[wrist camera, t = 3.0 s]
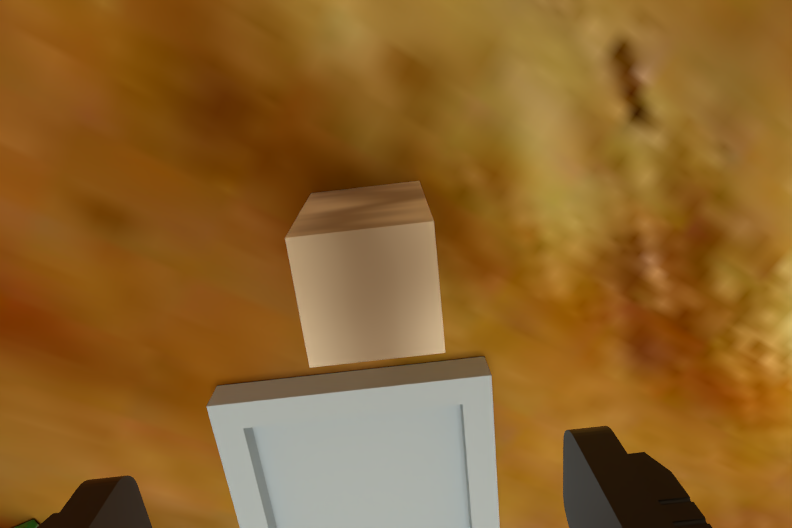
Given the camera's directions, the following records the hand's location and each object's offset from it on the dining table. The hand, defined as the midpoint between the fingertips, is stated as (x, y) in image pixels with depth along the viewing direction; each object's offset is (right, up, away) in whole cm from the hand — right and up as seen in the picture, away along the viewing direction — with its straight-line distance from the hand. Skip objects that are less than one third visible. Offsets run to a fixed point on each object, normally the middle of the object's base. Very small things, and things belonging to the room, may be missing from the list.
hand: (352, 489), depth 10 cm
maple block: (0, +5, +15) cm, 16 cm away
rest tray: (-1, -8, +20) cm, 21 cm away
